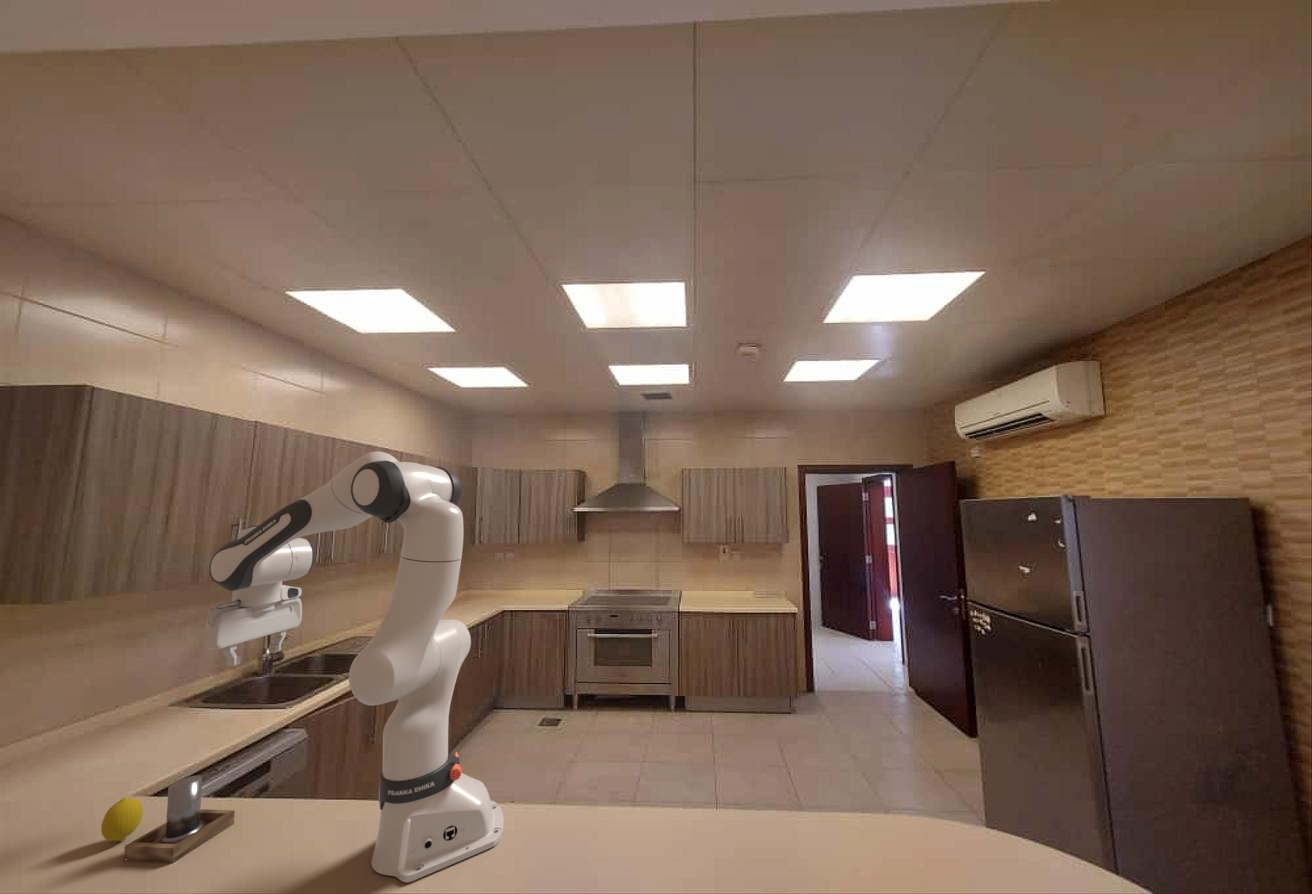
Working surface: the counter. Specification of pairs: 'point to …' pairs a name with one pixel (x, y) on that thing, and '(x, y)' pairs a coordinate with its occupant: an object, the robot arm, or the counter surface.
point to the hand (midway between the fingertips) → (255, 658)
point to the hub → (183, 809)
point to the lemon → (122, 819)
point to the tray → (154, 851)
